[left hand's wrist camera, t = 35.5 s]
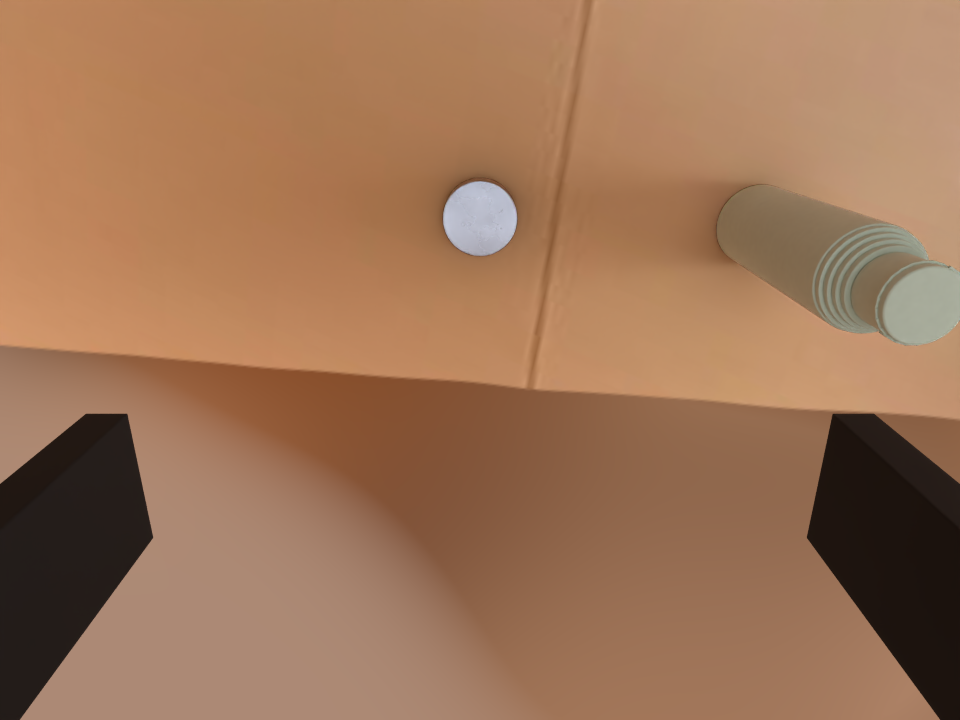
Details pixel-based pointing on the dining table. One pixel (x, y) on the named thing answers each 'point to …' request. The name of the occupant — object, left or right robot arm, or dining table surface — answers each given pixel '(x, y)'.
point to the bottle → (841, 264)
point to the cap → (480, 217)
